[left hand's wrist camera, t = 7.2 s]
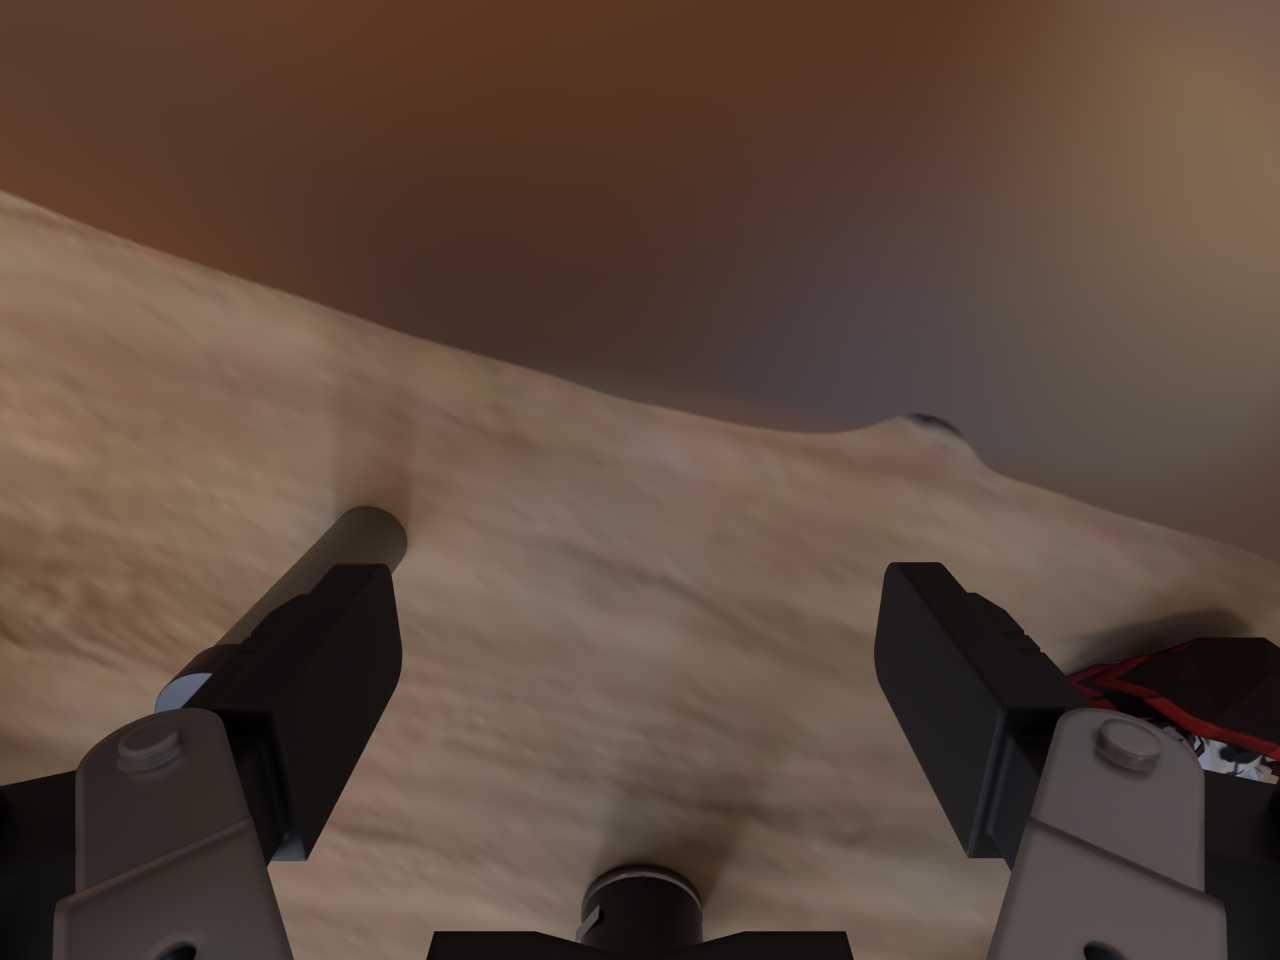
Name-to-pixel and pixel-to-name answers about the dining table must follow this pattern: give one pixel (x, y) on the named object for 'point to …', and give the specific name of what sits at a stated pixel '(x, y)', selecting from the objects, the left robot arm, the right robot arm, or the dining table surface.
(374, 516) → the brown long cylinder
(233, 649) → the lid
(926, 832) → the dining table surface
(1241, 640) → the toy
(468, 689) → the dining table surface
